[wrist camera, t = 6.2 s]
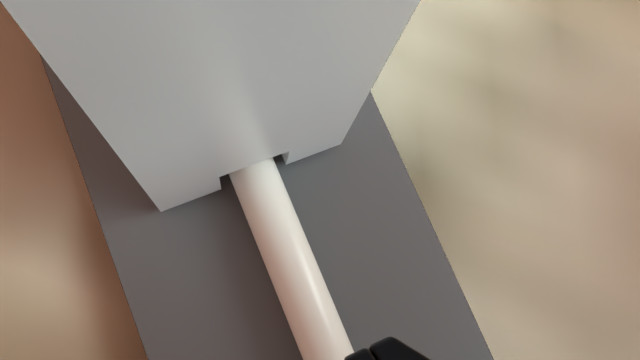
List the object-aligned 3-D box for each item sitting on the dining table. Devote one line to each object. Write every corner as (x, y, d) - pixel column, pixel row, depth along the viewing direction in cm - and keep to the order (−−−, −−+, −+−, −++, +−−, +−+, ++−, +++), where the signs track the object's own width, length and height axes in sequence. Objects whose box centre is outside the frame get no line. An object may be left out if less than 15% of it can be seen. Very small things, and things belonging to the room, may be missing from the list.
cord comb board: (601, 620, 15) (721, 720, 11) (311, 803, 13) (339, 995, 9) (239, -173, 19) (238, -292, 15) (-14, -112, 17) (-84, -229, 13)
